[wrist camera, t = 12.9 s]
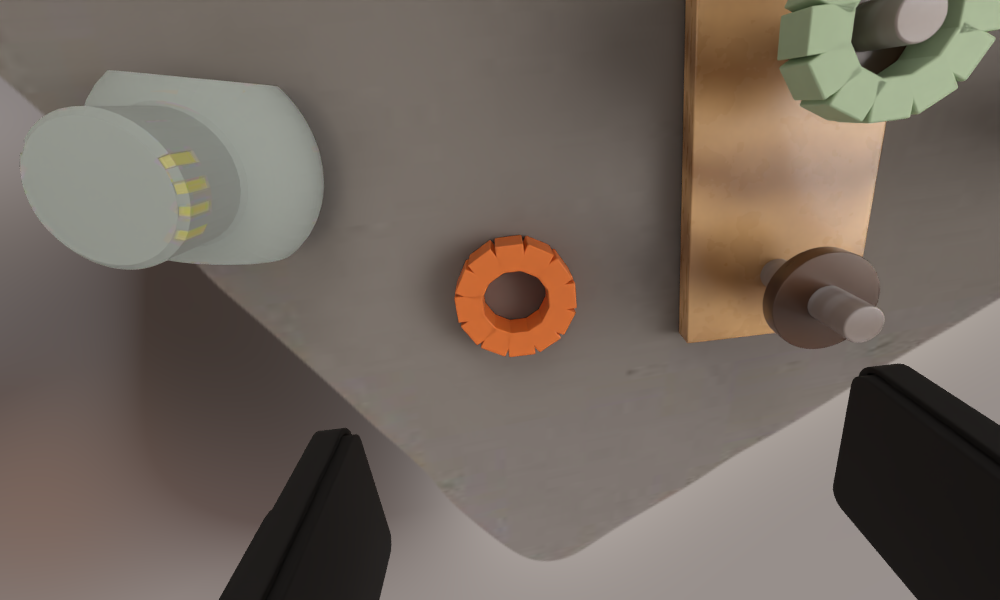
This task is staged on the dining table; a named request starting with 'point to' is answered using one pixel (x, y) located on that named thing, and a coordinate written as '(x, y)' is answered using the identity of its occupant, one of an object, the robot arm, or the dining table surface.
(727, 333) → the peg rack
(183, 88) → the air freshener
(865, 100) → the sage ring
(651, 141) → the dining table surface
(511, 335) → the orange ring
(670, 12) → the dining table surface
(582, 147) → the dining table surface
